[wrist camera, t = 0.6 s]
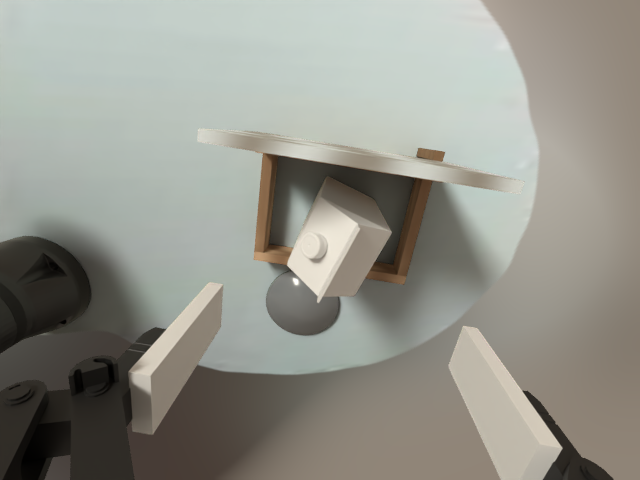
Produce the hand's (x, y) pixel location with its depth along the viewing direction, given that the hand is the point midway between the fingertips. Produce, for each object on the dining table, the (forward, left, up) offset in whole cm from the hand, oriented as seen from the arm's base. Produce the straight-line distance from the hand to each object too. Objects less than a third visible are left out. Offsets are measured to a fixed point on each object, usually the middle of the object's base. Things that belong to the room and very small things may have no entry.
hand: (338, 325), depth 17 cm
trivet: (-3, -15, -26) cm, 30 cm away
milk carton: (0, 0, -27) cm, 27 cm away
